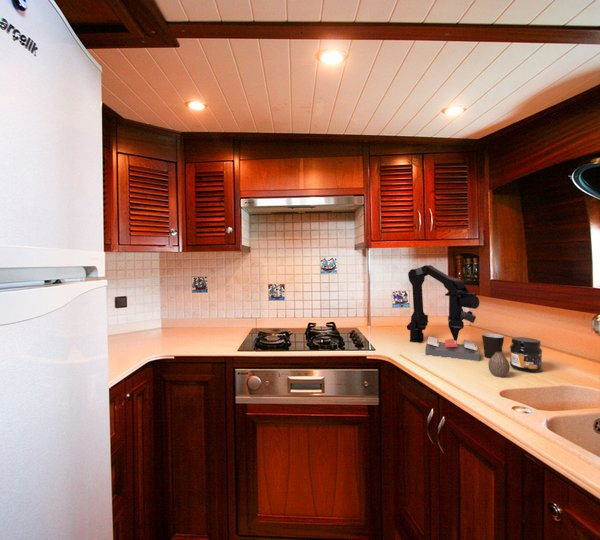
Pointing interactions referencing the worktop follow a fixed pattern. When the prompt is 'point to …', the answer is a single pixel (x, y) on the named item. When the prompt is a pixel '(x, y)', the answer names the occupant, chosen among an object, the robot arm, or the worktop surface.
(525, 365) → the supplement container
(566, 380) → the worktop surface
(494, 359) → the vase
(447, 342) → the rocker red
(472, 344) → the rocker right
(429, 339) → the plate
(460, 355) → the rocker switch panel
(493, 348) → the coffee mug
